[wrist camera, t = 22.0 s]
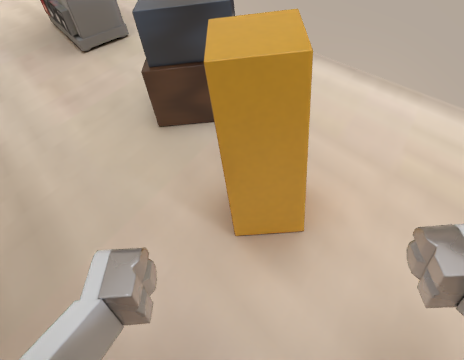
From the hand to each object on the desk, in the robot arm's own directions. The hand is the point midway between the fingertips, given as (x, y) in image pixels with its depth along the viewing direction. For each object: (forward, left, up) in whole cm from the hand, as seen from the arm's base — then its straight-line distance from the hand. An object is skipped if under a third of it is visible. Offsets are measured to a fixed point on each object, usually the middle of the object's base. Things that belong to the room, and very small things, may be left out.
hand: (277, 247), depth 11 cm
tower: (-9, +20, -8) cm, 23 cm away
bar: (-2, +8, -8) cm, 11 cm away
